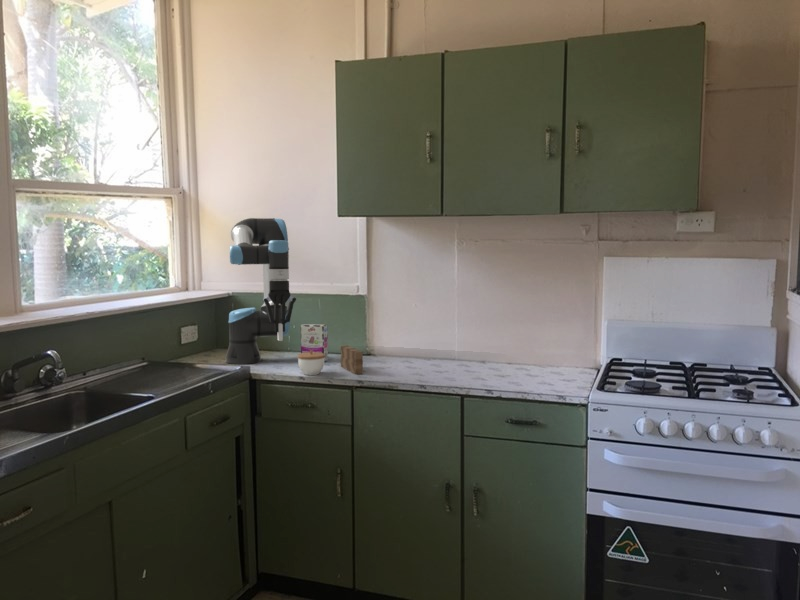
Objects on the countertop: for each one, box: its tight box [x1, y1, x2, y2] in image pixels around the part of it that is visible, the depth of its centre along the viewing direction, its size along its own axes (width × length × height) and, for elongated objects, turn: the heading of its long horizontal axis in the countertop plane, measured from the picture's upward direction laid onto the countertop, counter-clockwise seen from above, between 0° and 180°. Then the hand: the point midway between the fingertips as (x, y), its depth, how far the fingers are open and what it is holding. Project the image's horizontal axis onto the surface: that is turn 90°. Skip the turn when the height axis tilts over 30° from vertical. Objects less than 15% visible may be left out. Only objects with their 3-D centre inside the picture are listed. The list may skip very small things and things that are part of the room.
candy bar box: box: [300, 323, 329, 363], centre depth 287 cm, size 11×5×16 cm, turn 73°
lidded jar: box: [297, 350, 325, 376], centre depth 259 cm, size 11×11×9 cm
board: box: [340, 344, 364, 375], centre depth 266 cm, size 18×3×9 cm, turn 24°
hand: (280, 340), depth 253 cm, fingers closed
